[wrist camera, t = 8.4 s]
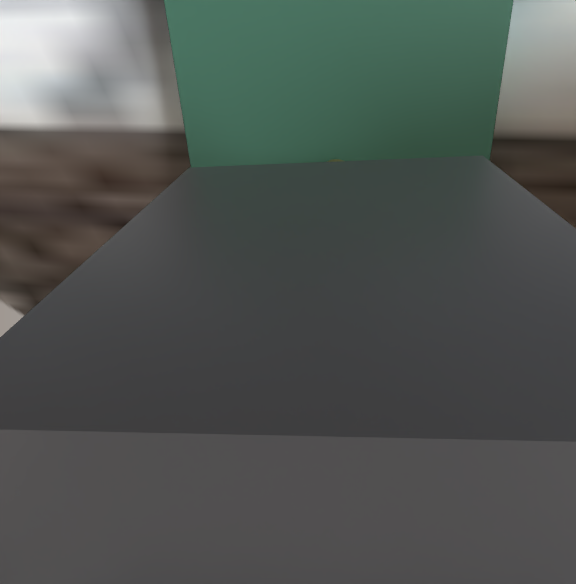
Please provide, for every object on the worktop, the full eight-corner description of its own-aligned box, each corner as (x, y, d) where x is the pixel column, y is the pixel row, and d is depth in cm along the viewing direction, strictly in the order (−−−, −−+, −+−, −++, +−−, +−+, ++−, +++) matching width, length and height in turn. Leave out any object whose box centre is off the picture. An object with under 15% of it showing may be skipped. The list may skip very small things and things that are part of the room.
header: (158, -107, 15) (55, -190, 9) (521, -146, 13) (645, -266, 8) (228, 352, 23) (196, 447, 18) (452, 353, 22) (490, 455, 17)
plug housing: (189, 167, 9) (-189, 508, 3) (482, 155, 9) (995, 559, 2) (248, 534, 15) (178, 944, 8) (429, 542, 14) (514, 991, 7)
